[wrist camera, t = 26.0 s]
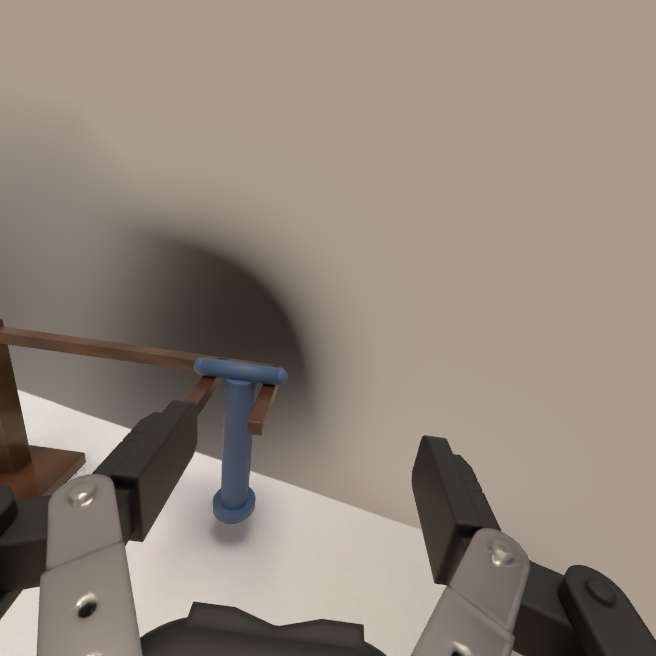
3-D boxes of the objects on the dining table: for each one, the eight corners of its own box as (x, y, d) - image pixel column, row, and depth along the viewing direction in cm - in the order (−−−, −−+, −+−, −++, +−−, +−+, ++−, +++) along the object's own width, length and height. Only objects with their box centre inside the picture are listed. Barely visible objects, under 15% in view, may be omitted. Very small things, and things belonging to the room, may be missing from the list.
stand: (273, 487, 45) (287, 349, 38) (248, 589, 34) (262, 416, 27) (-7, 449, 45) (-45, 302, 38) (-130, 537, 33) (-217, 349, 26)
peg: (269, 529, 36) (284, 382, 30) (186, 518, 36) (184, 368, 30) (277, 495, 40) (291, 359, 34) (202, 485, 40) (203, 347, 34)
